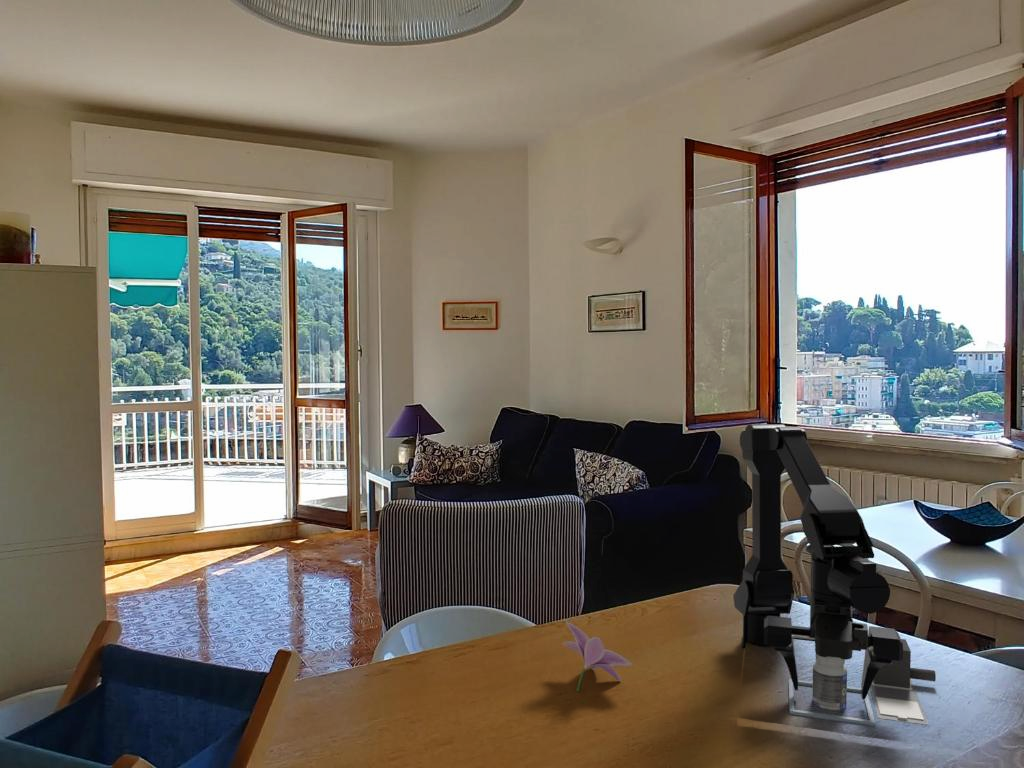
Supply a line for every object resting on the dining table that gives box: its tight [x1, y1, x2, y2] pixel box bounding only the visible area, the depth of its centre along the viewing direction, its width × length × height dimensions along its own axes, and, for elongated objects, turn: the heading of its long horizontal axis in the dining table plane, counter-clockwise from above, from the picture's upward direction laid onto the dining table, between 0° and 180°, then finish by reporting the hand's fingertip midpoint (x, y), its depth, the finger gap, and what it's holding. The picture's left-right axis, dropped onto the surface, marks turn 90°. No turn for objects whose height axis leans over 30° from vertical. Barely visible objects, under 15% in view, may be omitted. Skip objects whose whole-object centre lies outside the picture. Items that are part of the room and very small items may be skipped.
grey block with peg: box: [873, 638, 937, 688], centre depth 122 cm, size 9×5×6 cm, turn 71°
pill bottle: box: [811, 653, 848, 711], centre depth 115 cm, size 5×5×8 cm
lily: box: [562, 620, 632, 692], centre depth 124 cm, size 12×12×10 cm
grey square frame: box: [788, 678, 876, 727], centre depth 115 cm, size 11×11×1 cm
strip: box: [869, 678, 930, 726], centre depth 118 cm, size 6×18×1 cm, turn 161°
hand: (829, 693), depth 115 cm, fingers open, 9 cm apart
